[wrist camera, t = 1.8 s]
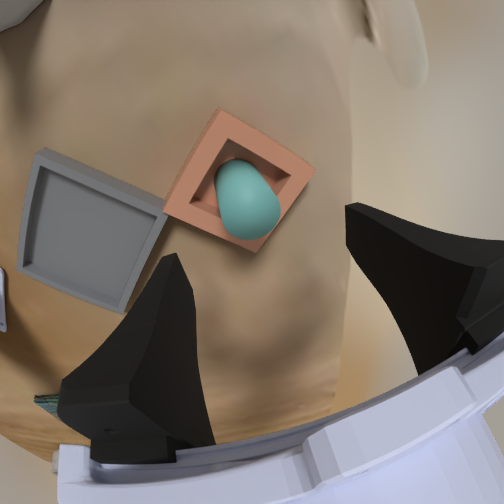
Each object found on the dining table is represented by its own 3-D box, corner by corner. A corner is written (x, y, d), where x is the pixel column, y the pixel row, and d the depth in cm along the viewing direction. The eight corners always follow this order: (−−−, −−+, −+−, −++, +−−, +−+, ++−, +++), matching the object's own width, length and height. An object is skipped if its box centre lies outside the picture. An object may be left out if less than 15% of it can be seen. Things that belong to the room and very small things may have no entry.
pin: (243, 208, 19) (259, 248, 15) (205, 189, 18) (210, 225, 14) (268, 172, 18) (292, 203, 14) (229, 150, 17) (242, 174, 13)
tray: (124, 302, 22) (122, 314, 21) (23, 259, 18) (16, 270, 17) (171, 203, 18) (169, 212, 17) (45, 147, 14) (35, 153, 13)
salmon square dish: (251, 239, 21) (256, 253, 20) (164, 200, 18) (162, 211, 17) (306, 161, 19) (316, 169, 17) (218, 107, 16) (221, 109, 14)
